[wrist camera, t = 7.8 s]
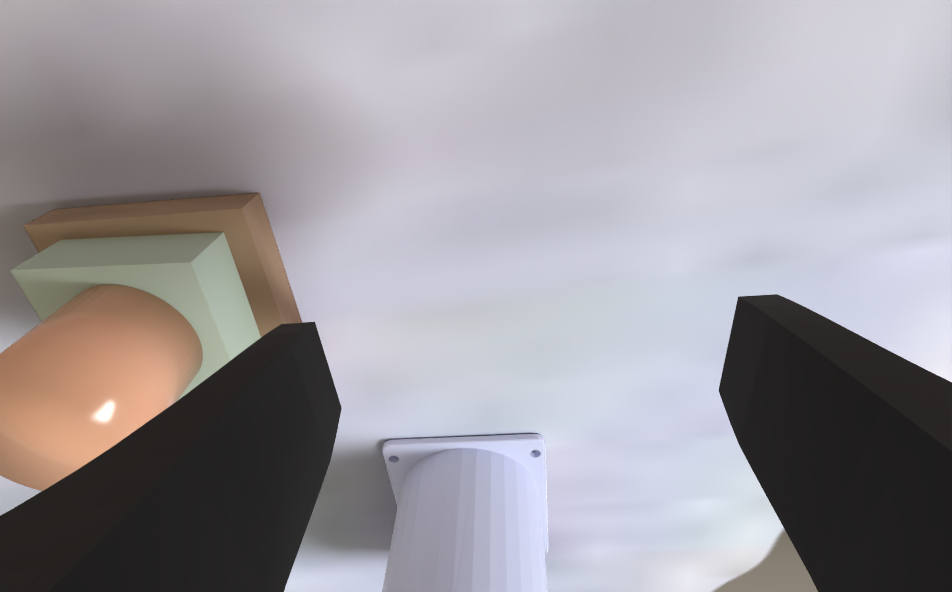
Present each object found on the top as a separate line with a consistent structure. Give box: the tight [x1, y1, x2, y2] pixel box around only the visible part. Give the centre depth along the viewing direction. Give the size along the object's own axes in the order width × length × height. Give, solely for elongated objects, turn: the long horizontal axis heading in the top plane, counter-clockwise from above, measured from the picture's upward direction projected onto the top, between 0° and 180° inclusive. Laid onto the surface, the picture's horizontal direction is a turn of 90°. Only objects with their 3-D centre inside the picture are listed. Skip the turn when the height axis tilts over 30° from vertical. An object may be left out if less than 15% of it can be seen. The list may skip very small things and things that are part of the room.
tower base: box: [23, 193, 302, 337], centre depth 21 cm, size 8×8×2 cm
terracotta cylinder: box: [0, 285, 203, 491], centre depth 16 cm, size 4×4×4 cm
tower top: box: [10, 232, 261, 400], centre depth 19 cm, size 6×6×2 cm
